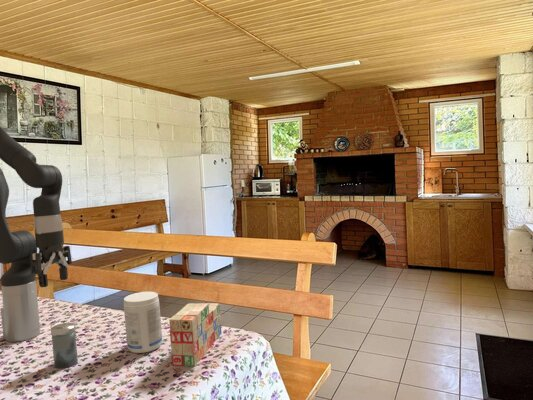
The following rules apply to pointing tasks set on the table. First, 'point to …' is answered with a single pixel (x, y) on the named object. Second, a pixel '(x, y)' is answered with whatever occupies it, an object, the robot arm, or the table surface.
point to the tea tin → (64, 345)
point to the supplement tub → (142, 322)
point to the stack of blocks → (194, 332)
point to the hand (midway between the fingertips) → (54, 283)
